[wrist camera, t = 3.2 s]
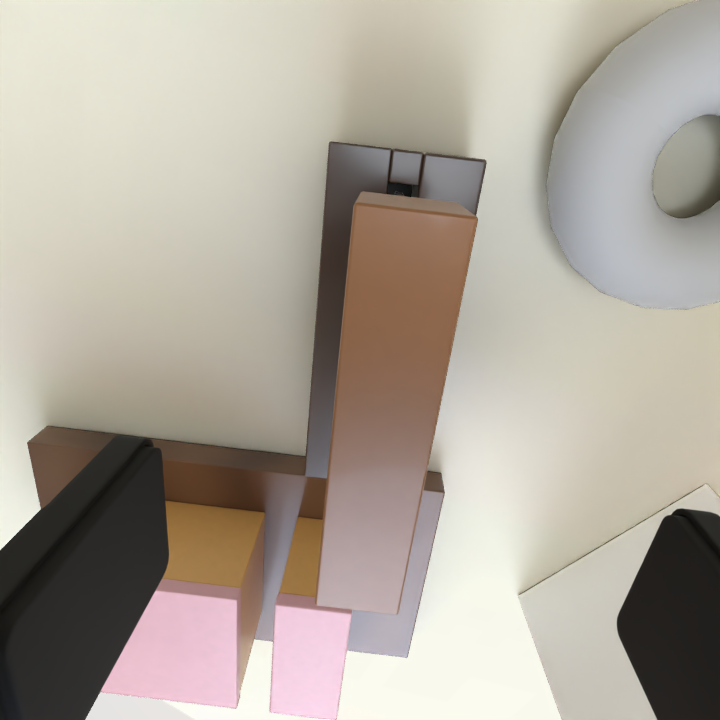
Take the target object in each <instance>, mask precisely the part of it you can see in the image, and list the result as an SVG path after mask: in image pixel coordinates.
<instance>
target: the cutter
mask: <svg viewBox="0 0 720 720" xmlns="http://www.w3.org/2000/svg"><path fill="white" fill-rule="evenodd" d="M477 222H478V219H477V217H476V216H475V215H474V214H472V213H471V212H470V211H468V210H467V209H466V208H464V207H463V206H462V205H460V204H459V203H457V202H449V201H440V200H432V199H424V198H415V197H407V196H404V195H403V193H402V192H397V191H396V192H395V195H390V194H381V193H373V192H364V191H363V192H361V193H360V195H359V197H358V198H357V200H356V202H355V204H354V206H353V216H352V226H351V237H350V247H349V257H348V267H347V277H346V288H345V298H344V308H343V318H342V328H341V339H340V349H339V359H338V369H337V379H336V390H335V400H334V410H333V420H332V430H331V441H330V451H329V461H328V471H327V481H326V492H325V502H324V512H323V522H322V532H321V543H320V553H319V563H318V573H317V583H316V594H315V605H317V606H324V607H332V608H341V609H349V610H357V611H366V612H374V613H383V614H391V615H397V614H398V613H399V608H400V603H401V598H402V593H403V588H404V583H405V578H406V573H407V568H408V563H409V558H410V553H411V549H412V544H413V539H414V534H415V529H416V524H417V519H418V514H419V509H420V504H421V499H422V494H423V489H424V484H425V479H426V474H427V469H428V464H429V459H430V454H431V449H432V445H433V440H434V435H435V430H436V425H437V420H438V415H439V410H440V405H441V400H442V395H443V390H444V385H445V380H446V375H447V370H448V365H449V360H450V355H451V350H452V345H453V341H454V336H455V331H456V326H457V321H458V316H459V311H460V306H461V301H462V296H463V291H464V286H465V281H466V276H467V271H468V266H469V261H470V256H471V251H472V246H473V241H474V237H475V232H476V227H477Z"/></svg>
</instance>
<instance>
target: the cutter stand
mask: <svg viewBox="0 0 720 720" xmlns="http://www.w3.org/2000/svg"><path fill="white" fill-rule="evenodd" d="M485 168H486V160H484V159H476V158H468V157H459V156H451V155H442V154H434V153H425V152H417V151H409V150H400V149H391V148H383V147H375V146H366V145H358V144H349V143H341V142H332V141H331V142H329V150H328V163H327V177H326V190H325V204H324V217H323V230H322V244H321V257H320V271H319V284H318V298H317V311H316V325H315V338H314V352H313V365H312V379H311V392H310V406H309V419H308V433H307V446H306V460H305V473H304V475H305V476H306V477H314V478H322V479H327V471H328V461H329V451H330V441H331V430H332V420H333V410H334V400H335V390H336V379H337V369H338V359H339V349H340V339H341V328H342V318H343V308H344V298H345V288H346V277H347V267H348V257H349V247H350V237H351V226H352V216H353V206H354V204H355V202H356V200H357V198H358V197H359V195H360V193H361V192H363V191H364V192H373V193H381V194H387V188H388V180H389V182H390V183H399V184H407V185H413V188H412V194H411V197H415V198H424V199H432V200H440V201H449V202H457V203H459V204H460V205H462V206H463V207H464V208H466V209H467V210H468V211H470V212H471V213H472V214H474V215H475V216H476V213H477V208H478V203H479V198H480V193H481V188H482V183H483V178H484V173H485Z"/></svg>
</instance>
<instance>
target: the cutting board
mask: <svg viewBox="0 0 720 720" xmlns="http://www.w3.org/2000/svg"><path fill="white" fill-rule="evenodd" d="M116 436H117V434H109V433H100V432H92V431H84V430H75V429H67V428H58V427H50V426H47V427H45V428H44V429H43V430H42V431H40V432H39V433H38V434H37V435H36V436H34V437H33V438H32V439H31V440H29V441H28V442H27V444H28V449H29V454H30V459H31V463H32V468H33V473H34V478H35V482H36V487H37V492H38V497H39V502H40V506H41V509H42V508H44V507H45V506H46V505H47V504H49V503H50V502H51V501H52V500H53V499H54V498H55V497H56V496H57V495H58V494H59V493H60V492H61V491H62V490H63V489H64V488H65V487H66V486H67V485H68V483H69V482H70V481H71V480H72V479H73V478H74V477H75V476H76V475H77V474H78V473H79V472H80V471H81V470H82V469H83V468H84V467H85V466H86V465H87V464H88V463H89V462H90V461H91V460H92V459H93V458H94V457H95V456H96V455H97V454H98V453H99V452H100V451H101V450H102V449H103V448H104V447H105V446H106V445H107V444H108V443H109V442H110V441H111V440H112V439H113V438H114V437H116ZM141 438H142V437H141ZM149 439H150V438H149ZM151 440H152V442H153V445H154V447H157V448H160V450H161V452H162V461H163V475H164V489H165V501H173V502H181V503H189V504H198V505H206V506H214V507H223V508H231V509H239V510H248V511H256V512H264V513H265V533H264V562H263V591H262V612H261V615H260V619H259V623H258V627H257V630H256V634H255V638H254V639H257V640H265V641H273V634H274V614H275V602H276V598H277V595H278V593H279V592H280V588H281V583H282V579H283V575H284V571H285V567H286V563H287V559H288V554H289V550H290V546H291V542H292V538H293V534H294V529H295V525H296V521H297V518H298V517H304V518H313V519H321V520H323V512H324V502H325V492H326V481H327V479H322V478H314V477H306V476H305V475H304V473H305V460H306V457H301V456H292V455H284V454H276V453H267V452H259V451H251V450H242V449H234V448H225V447H217V446H209V445H200V444H192V443H184V442H175V441H167V440H159V439H151ZM444 493H445V492H444V486H443V480H442V474H441V473H434V472H427V474H426V479H425V484H424V489H423V494H422V499H421V504H420V509H419V514H418V519H417V524H416V529H415V534H414V539H413V544H412V549H411V553H410V558H409V563H408V568H407V573H406V578H405V583H404V588H403V593H402V598H401V603H400V608H399V613H398V614H397V615H391V614H383V613H374V612H366V611H357V610H352V617H351V624H350V631H349V638H348V645H347V650H348V651H357V652H365V653H373V654H381V655H390V656H398V657H406V658H407V657H408V653H409V649H410V644H411V640H412V635H413V631H414V626H415V622H416V617H417V613H418V609H419V604H420V600H421V595H422V591H423V586H424V582H425V578H426V573H427V569H428V564H429V560H430V555H431V551H432V546H433V542H434V538H435V533H436V529H437V524H438V520H439V515H440V511H441V506H442V502H443V498H444Z"/></svg>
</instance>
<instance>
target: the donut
mask: <svg viewBox="0 0 720 720" xmlns="http://www.w3.org/2000/svg"><path fill="white" fill-rule="evenodd" d="M703 115H719V116H720V0H696V1H693V2H690V3H687V4H684V5H681V6H678V7H675V8H672V9H669V10H668V11H666V12H665V13H663V14H662V15H660V16H659V17H657V18H656V19H655V20H653V21H652V22H650V23H649V24H647V25H646V26H644V27H643V28H642V29H640V30H639V31H637V32H636V33H634V34H633V35H631V36H630V37H629V38H627V39H626V40H624V41H623V42H621V43H620V44H619V45H618V46H616V47H615V48H614V49H613V50H612V52H611V53H610V54H609V55H608V56H607V57H606V59H605V60H604V61H603V62H602V63H601V65H600V66H599V67H598V68H597V69H596V70H595V72H594V73H593V74H592V75H591V76H590V77H589V79H588V80H587V81H586V82H585V83H584V84H583V86H582V87H581V88H580V89H579V90H578V91H577V93H576V95H575V97H574V99H573V102H572V104H571V106H570V108H569V110H568V112H567V114H566V116H565V118H564V120H563V122H562V124H561V126H560V128H559V130H558V133H557V135H556V137H555V139H554V144H553V149H552V155H551V160H550V166H549V171H548V177H547V182H546V191H547V199H548V206H549V214H550V222H551V228H552V230H553V232H554V234H555V236H556V238H557V240H558V242H559V244H560V246H561V248H562V250H563V252H564V254H565V256H566V258H567V260H568V262H569V263H570V265H571V266H572V267H573V268H574V269H575V270H576V271H577V272H578V273H579V274H581V275H582V276H583V277H584V278H585V279H586V280H587V281H588V282H590V283H591V284H592V285H593V286H594V287H595V288H596V289H597V290H599V291H600V292H602V293H604V294H607V295H610V296H612V297H615V298H617V299H620V300H623V301H625V302H628V303H630V304H633V305H636V306H639V307H642V308H658V309H680V310H687V309H691V308H695V307H700V306H704V305H708V304H712V303H717V302H720V199H719V200H718V201H717V202H716V203H715V204H714V205H713V206H712V207H711V208H709V209H707V210H706V211H704V212H702V213H700V214H699V215H695V216H692V217H688V218H675V217H672V216H670V215H667V214H666V213H665V212H664V211H663V210H662V209H661V208H660V207H659V206H658V204H657V201H656V199H655V197H654V194H653V186H652V175H653V171H654V167H655V163H656V159H657V157H658V155H659V154H660V152H661V150H662V148H663V147H664V145H665V143H666V141H667V140H668V139H669V138H670V137H671V136H672V135H673V134H674V133H675V132H676V131H677V130H678V129H679V128H680V127H681V126H683V125H684V124H686V123H688V122H689V121H691V120H692V119H694V118H696V117H699V116H703Z"/></svg>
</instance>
